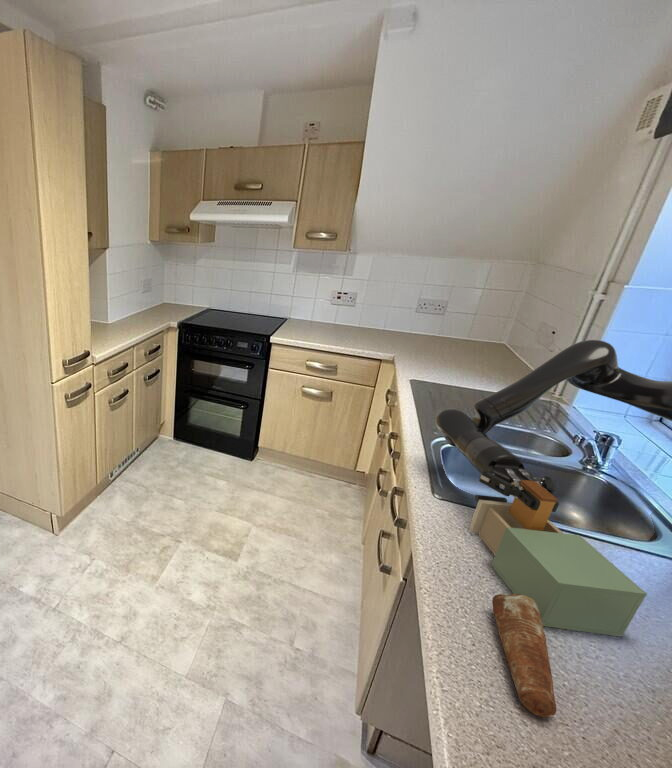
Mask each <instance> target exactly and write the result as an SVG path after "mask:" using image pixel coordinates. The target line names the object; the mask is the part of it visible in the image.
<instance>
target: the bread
mask: <svg viewBox="0 0 672 768" xmlns="http://www.w3.org/2000/svg"><path fill="white" fill-rule="evenodd" d="M491 602H492V611H493V617H494V619H495V623H496V628H497V632H498V634H499V638H500V642H501V645H502V648H503V651H504V655H505V658H506V660H507V664H508V667H509V671H510V674H511V678H512V680H513V683H514V686H515V689H516V691H517V696H518V699H519V701H520V702H521V704H522V706H524V707H525V708H526V709H527V710H528V711H529V712H531V713H532V714H533V715H535V716H538V717H542V718H543V717H544V718H549V717H551V716H555V715H556V714H557V704H556V697H555V689H554V681H553V676H552V669H551V663H550V659H549V658H550V657H549V652H548V646H547V638H546V633H545V629H544V626H543V623H542V618H541V615H540V612H539V609H538V607H537V605H536V602H535V601H534V600H533V599H532V598H530V597H526V596H524V595H521V594H513V593H510V594H501V593H498V594H495V595H494V596H493V597H492V601H491Z"/></svg>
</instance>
